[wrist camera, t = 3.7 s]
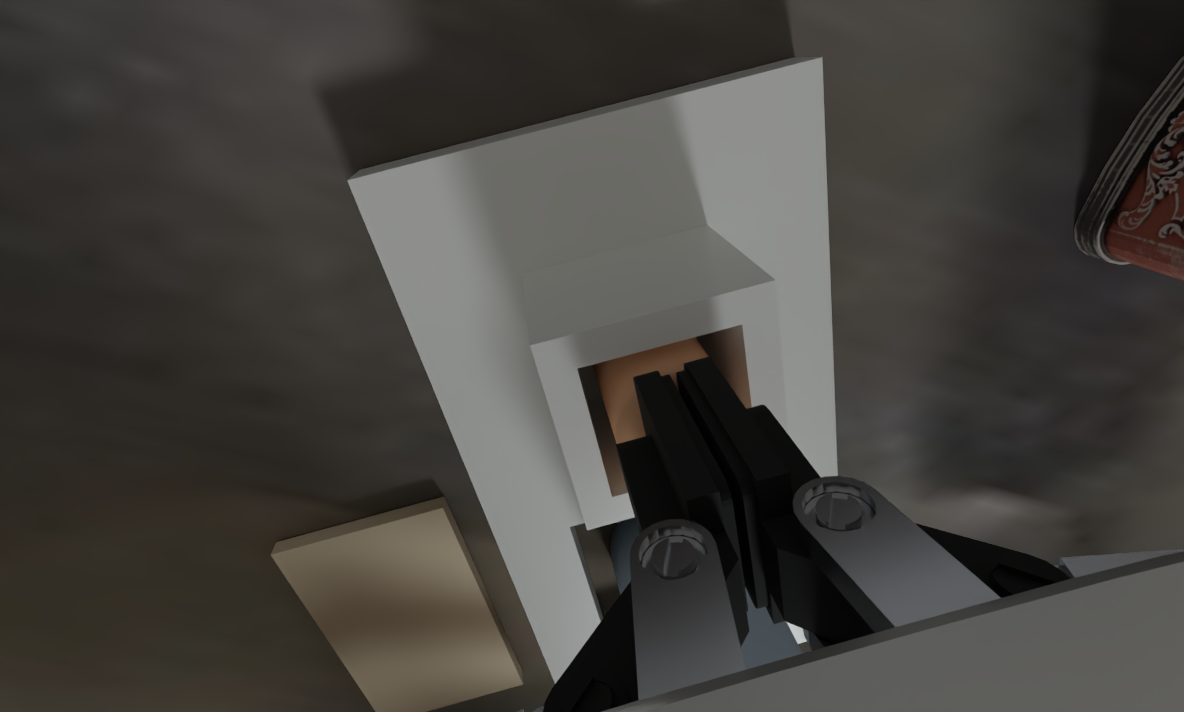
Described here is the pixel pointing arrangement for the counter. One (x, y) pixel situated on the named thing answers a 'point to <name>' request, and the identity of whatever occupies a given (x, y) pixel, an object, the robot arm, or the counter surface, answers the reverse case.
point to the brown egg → (620, 383)
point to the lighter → (1142, 189)
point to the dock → (610, 296)
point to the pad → (403, 608)
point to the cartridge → (764, 635)
